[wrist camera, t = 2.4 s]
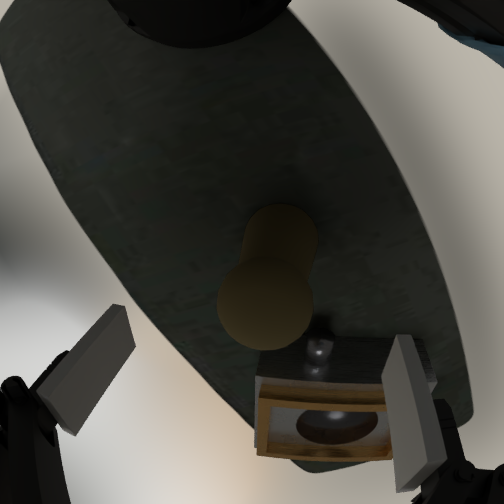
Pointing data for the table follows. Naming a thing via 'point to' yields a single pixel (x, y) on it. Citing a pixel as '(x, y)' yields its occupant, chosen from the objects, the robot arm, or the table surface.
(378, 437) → the grey box with hole
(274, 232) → the cork
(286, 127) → the table surface
